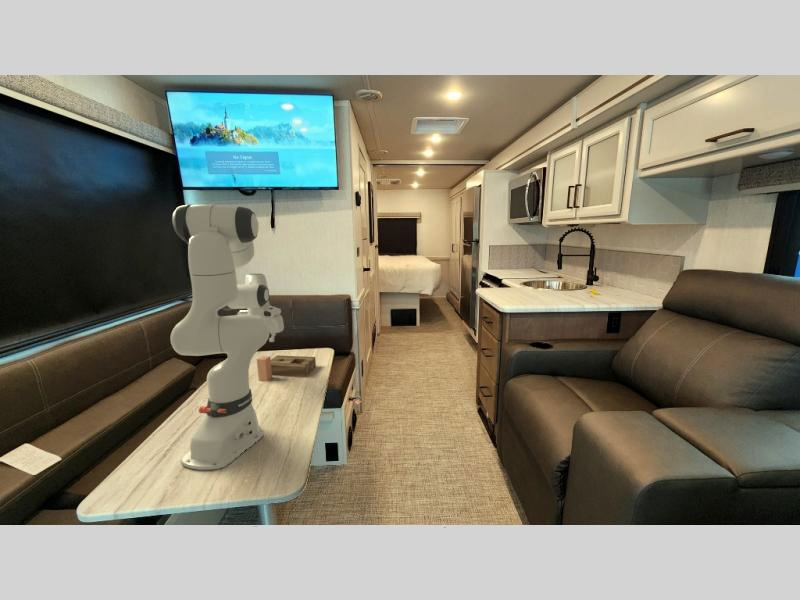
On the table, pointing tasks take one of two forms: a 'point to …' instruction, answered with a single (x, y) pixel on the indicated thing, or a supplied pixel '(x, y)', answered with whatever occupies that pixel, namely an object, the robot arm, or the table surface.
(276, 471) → the table surface
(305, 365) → the socket block
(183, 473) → the table surface
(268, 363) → the square peg
